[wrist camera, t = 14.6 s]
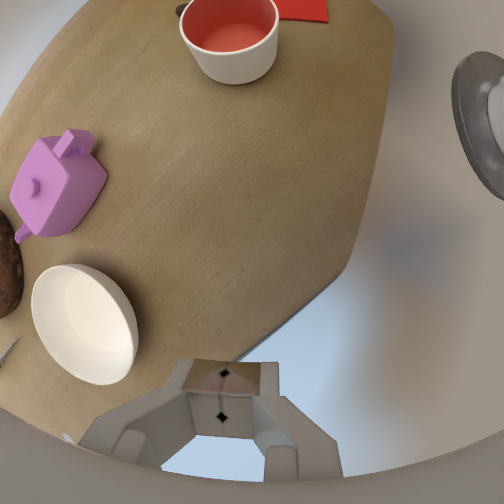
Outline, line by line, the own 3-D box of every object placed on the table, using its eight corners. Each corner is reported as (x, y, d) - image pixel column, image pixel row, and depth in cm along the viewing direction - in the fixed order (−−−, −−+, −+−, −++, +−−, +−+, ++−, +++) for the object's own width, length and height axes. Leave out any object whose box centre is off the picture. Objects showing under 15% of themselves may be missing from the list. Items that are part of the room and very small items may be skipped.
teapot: (64, 254, 38) (21, 272, 28) (30, 209, 37) (-13, 218, 27) (127, 160, 34) (85, 154, 24) (86, 117, 33) (41, 104, 23)
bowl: (177, 328, 39) (161, 354, 32) (108, 375, 42) (89, 399, 35) (98, 227, 37) (68, 236, 30) (43, 293, 40) (17, 308, 33)
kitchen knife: (-13, 382, 44) (10, 345, 38) (-16, 379, 44) (7, 341, 38) (-5, 375, 48) (22, 336, 42) (-7, 372, 48) (19, 332, 42)
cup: (278, 86, 32) (282, 52, 22) (199, 91, 32) (176, 61, 22) (273, 24, 29) (275, -18, 20) (200, 30, 30) (181, -9, 20)
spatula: (324, -1, 28) (326, -8, 26) (327, 23, 29) (330, 16, 27) (179, 3, 29) (175, -4, 27) (176, 27, 30) (172, 20, 28)
